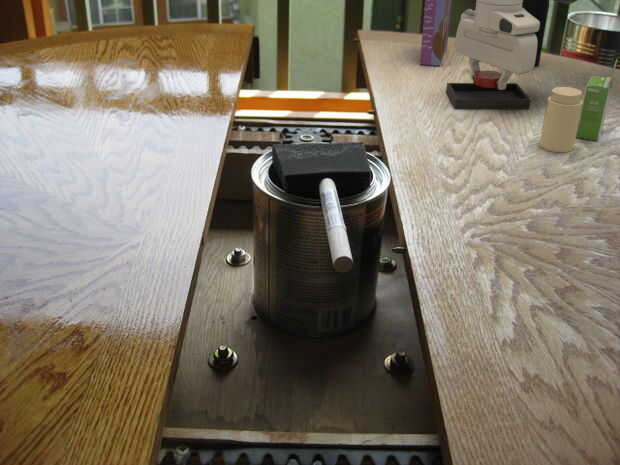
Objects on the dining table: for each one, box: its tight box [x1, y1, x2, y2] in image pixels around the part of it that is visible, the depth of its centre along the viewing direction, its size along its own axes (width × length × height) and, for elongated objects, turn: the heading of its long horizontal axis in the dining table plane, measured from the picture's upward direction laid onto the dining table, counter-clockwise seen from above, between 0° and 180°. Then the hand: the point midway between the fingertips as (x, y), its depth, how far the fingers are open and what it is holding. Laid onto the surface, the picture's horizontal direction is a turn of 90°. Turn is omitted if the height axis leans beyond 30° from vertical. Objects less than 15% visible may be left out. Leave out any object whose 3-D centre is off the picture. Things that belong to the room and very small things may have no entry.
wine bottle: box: [522, 0, 550, 67], centre depth 157 cm, size 6×6×30 cm
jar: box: [539, 86, 583, 153], centre depth 115 cm, size 6×6×10 cm
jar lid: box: [472, 70, 502, 88], centre depth 137 cm, size 6×6×2 cm
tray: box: [445, 82, 532, 110], centre depth 139 cm, size 15×11×2 cm
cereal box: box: [419, 0, 453, 67], centre depth 164 cm, size 17×5×24 cm, turn 164°
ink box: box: [576, 58, 618, 141], centre depth 119 cm, size 7×4×13 cm, turn 152°
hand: (488, 84), depth 138 cm, fingers closed on jar lid, 6 cm apart
